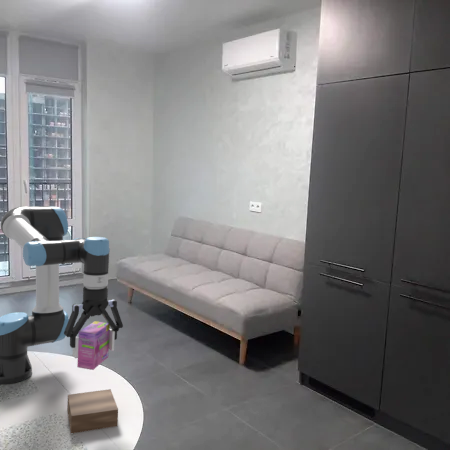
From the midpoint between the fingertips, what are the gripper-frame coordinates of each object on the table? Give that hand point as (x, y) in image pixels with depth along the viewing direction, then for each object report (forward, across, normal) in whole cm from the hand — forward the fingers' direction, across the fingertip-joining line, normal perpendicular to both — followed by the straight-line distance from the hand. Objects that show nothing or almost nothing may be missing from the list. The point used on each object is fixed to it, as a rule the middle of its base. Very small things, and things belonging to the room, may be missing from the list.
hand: (93, 353), depth 146 cm
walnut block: (+22, 0, 0) cm, 22 cm away
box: (+3, 0, 0) cm, 3 cm away
